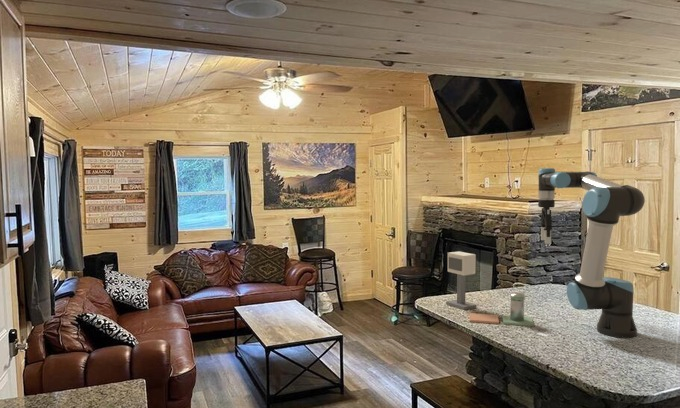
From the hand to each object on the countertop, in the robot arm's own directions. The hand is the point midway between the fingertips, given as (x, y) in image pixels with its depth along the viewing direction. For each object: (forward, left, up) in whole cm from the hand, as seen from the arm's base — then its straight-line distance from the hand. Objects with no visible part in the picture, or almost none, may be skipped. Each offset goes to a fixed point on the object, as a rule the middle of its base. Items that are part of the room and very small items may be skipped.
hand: (545, 241), depth 248 cm
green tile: (-24, +15, -35) cm, 45 cm away
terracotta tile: (-24, +30, -35) cm, 52 cm away
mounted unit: (-2, +41, -35) cm, 53 cm away
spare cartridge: (-24, +15, -33) cm, 44 cm away
